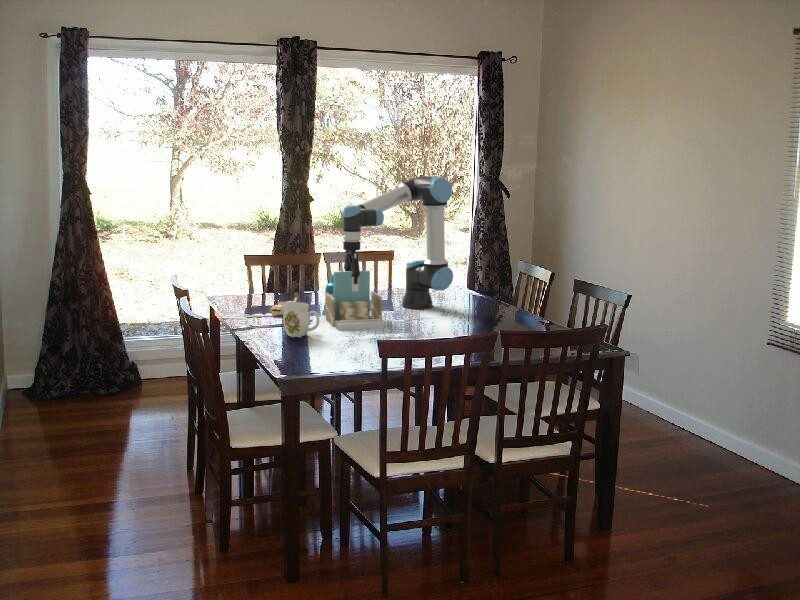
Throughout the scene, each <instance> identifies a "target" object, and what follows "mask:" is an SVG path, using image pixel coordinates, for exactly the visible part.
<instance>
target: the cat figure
mask: <svg viewBox="0 0 800 600" xmlns="http://www.w3.org/2000/svg"><path fill="white" fill-rule="evenodd" d="M298 299H299V293H298V292H294V298H293V301H292V300H289V301H287V302H297V301H298ZM279 302H282V301H281V300H280V301H279ZM269 311H270V312H271V314H272V315H273V316H274V317H275V316H283V315H284V309H283V307H282V306H281V305H280V304H279V303H278V302H277V303H275V305H272V306H271V308H269Z"/></svg>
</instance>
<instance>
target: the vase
mask: <svg viewBox="0 0 800 600" xmlns="http://www.w3.org/2000/svg"><path fill="white" fill-rule="evenodd" d="M329 280H330V281H329V282H328V283H327V284H326V285H325V292H324V305H325V307H326V293H329V294H330V295H331V296H332V297H333V298H334V273H333V274H330V279H329Z"/></svg>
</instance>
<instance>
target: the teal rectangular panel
mask: <svg viewBox="0 0 800 600" xmlns="http://www.w3.org/2000/svg"><path fill="white" fill-rule="evenodd" d="M359 271H360V276H359V278H358V291H352V277H351V275H353V274H352V271H345V270H344V271H339V270H338V271H333V274H334V299H335V319H339V302H348V301H368V302H369V309H371V291H370V287H371V286H370V285H371V283H370V280H371V272H370V270H359ZM369 315H370V314H369ZM369 315H368V317H369Z"/></svg>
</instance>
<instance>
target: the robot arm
mask: <svg viewBox="0 0 800 600" xmlns="http://www.w3.org/2000/svg"><path fill="white" fill-rule="evenodd" d="M452 194H453V188H452V184H451V183H450V181H449V180H448V179H447V178H445V177H442V176H441V177H440V176H438V175H435V176H432V175H431V176H429V175H419V176H416V177H414V178H410V179H409V180H406V181H404V182H401V183H399V185H398V186H397V187H395V188H394V189H393V188H392V190H391V189H390V190H389V191H387V192H385V193H382V194H380V195H378V196H376V197H374V198H371V199H368V200H366V201H364V202H362V203H360V204H357V205H353V204H351V205H349V204H348V205H345V206H344V207H343V209H342V212H341V219H342V221H343V225H342V226H343V227H342V228H343V233H341V235H342V237H343V240H344V241H343V243H342V244H343V247H342V248H343V250H344V251H345V257H344V265H343V269H344V271H352V274H353V275H351V277H352V291H358V278H359V276H360V271H361V270H360V264H359V261H360V260H359V253H357V251H360V250H361V240H362V239H361V231H362V230H361V228H362V227H363V228H365V227H379V226H381V225H383V223H384V222H385V221H384V219H385V218H384V216H385V215H384V213H383V212H385V211H387V210H390V209H392V208H394V207H396V206H399V205H400V204H404V203H406V204H407V203H410V202H413V201H422V207H423V208H424V209H425V224H426V228H425V229H426V232H425V233H426V259H424V260H423V259H421V260H410V261H407V263H406V266H405V267H406V269H405V293H404V295H403V299H402V302H401V306H402V307H403V308H405V307H406V309H411V308H414V310H425V309H424V308H426V309H431V308H432V307H433V299H432V296H431V292H430V289H431V290H434V291H445V290H447V289H448V288H449V287H450V285H452V283H453V280H454V273H453V270H452V268H450V267H449V262H448V260H447V259H446V253H445V251H446V249H445V247H446V246H445V239H446V238H445V208H446V207H447V206H448V201H449V200H451V197H452ZM430 307H431V308H430Z"/></svg>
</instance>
